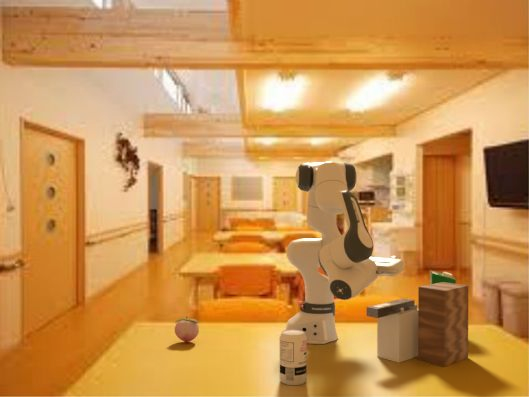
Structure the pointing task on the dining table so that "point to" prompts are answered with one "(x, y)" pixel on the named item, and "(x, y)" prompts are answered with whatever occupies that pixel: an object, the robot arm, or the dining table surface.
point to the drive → (390, 308)
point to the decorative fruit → (186, 329)
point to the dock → (398, 335)
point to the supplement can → (293, 357)
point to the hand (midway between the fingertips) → (382, 256)
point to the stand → (442, 323)
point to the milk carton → (441, 277)
